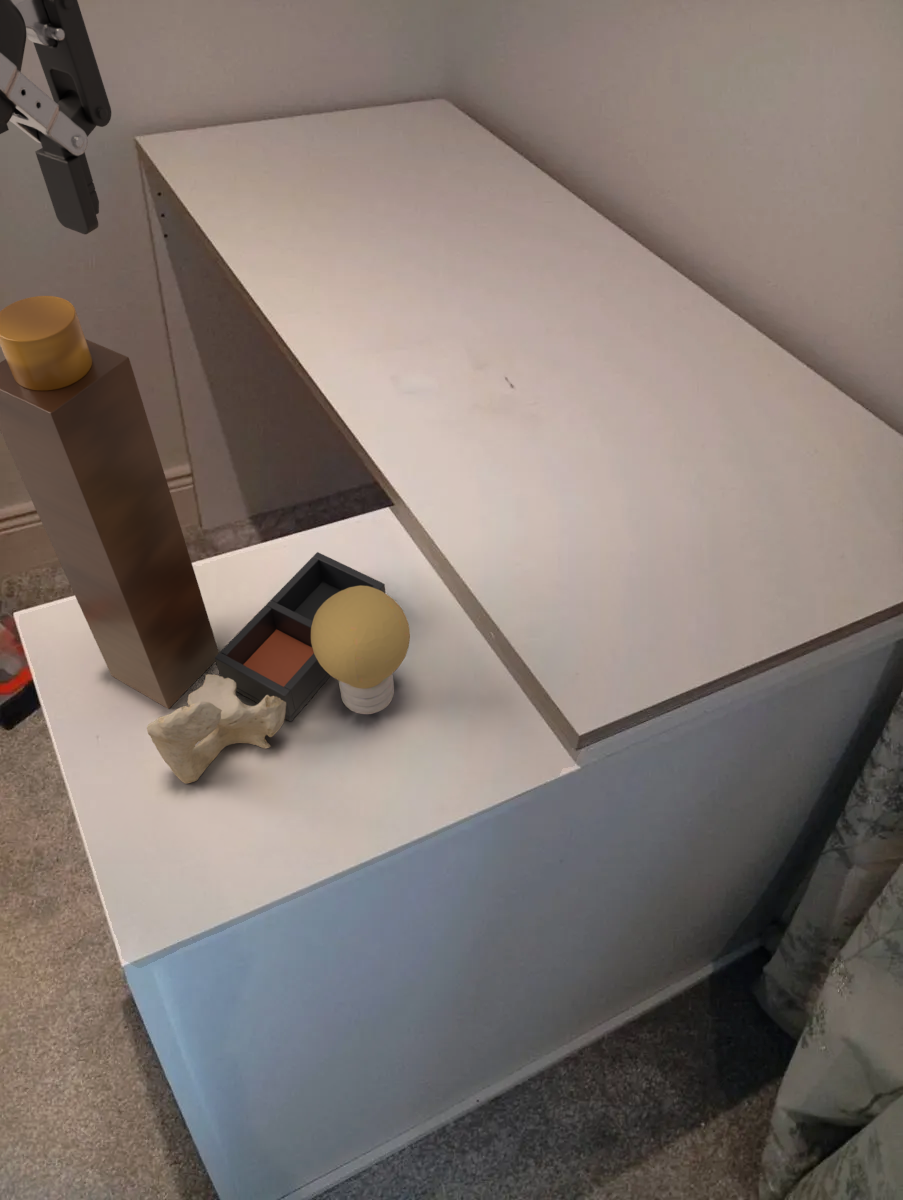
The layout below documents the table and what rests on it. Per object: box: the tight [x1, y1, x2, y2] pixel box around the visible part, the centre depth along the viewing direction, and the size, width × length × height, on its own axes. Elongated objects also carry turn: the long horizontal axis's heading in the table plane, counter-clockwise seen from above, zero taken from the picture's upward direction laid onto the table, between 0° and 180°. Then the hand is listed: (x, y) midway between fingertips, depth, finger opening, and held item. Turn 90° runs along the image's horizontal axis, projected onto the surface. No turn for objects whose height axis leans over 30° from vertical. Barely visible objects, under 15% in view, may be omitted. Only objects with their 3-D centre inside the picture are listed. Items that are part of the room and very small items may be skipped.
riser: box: [0, 338, 220, 710], centre depth 61 cm, size 6×6×26 cm
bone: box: [146, 673, 286, 784], centre depth 63 cm, size 9×6×10 cm
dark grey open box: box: [215, 551, 386, 722], centre depth 71 cm, size 12×6×3 cm, turn 148°
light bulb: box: [311, 586, 411, 715], centre depth 65 cm, size 6×6×10 cm
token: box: [0, 295, 92, 391], centre depth 50 cm, size 4×4×3 cm
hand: (13, 267), depth 47 cm, fingers open, 8 cm apart
